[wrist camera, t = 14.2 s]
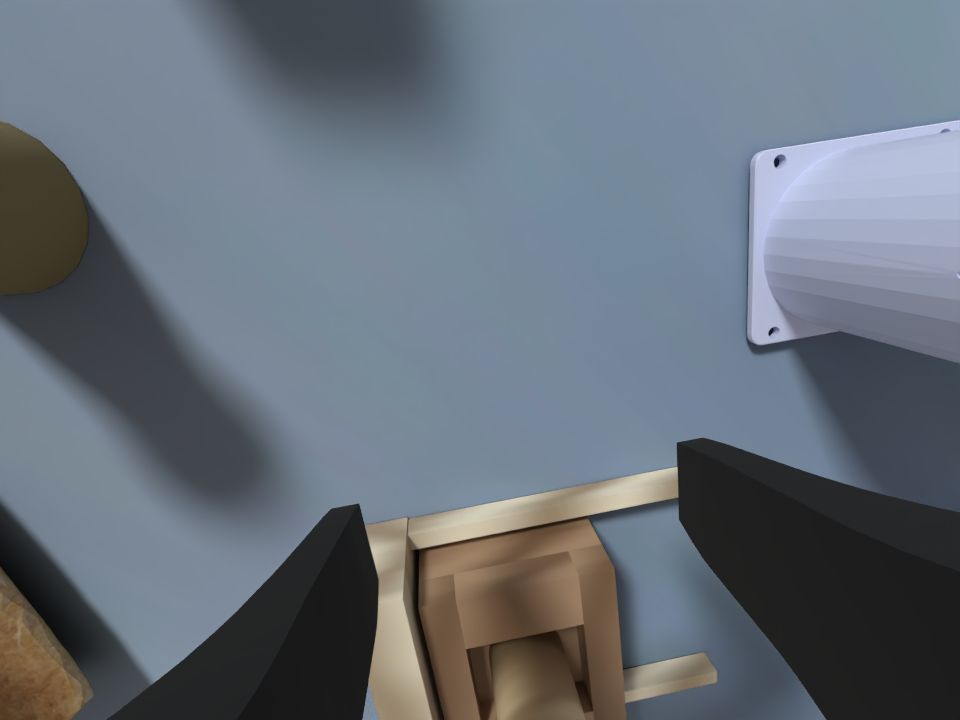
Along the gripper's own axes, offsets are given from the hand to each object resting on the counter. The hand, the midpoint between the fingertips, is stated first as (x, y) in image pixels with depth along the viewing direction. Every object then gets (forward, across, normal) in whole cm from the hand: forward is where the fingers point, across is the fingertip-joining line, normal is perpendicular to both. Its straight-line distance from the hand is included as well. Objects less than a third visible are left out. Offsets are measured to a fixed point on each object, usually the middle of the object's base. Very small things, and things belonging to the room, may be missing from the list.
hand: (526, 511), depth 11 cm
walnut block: (+10, 0, +13) cm, 17 cm away
